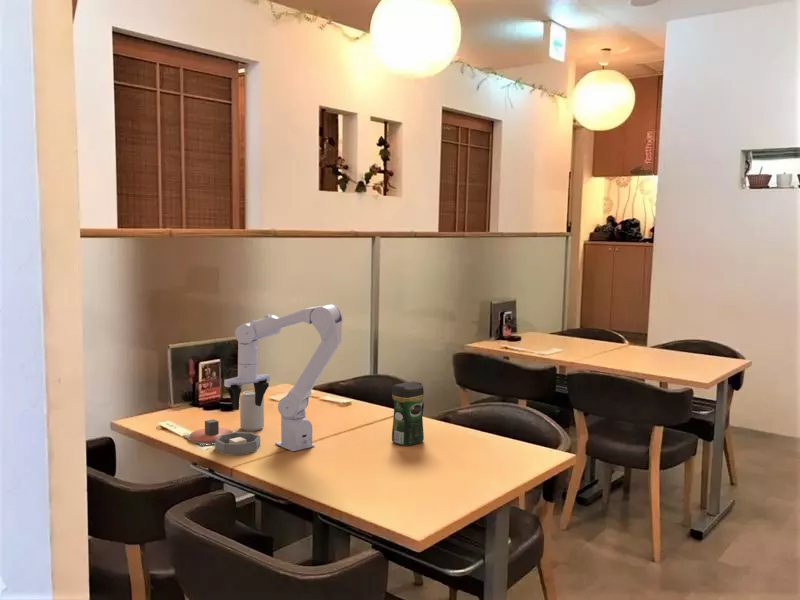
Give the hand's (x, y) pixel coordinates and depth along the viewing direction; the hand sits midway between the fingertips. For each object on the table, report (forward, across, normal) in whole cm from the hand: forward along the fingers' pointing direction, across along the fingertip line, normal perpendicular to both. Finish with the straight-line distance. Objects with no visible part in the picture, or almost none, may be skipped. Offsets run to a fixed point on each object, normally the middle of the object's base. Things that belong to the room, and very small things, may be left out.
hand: (247, 407), depth 210 cm
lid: (+10, +7, -9) cm, 15 cm away
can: (+11, -8, -10) cm, 17 cm away
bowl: (+10, +6, +4) cm, 13 cm away
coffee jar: (+10, -36, +32) cm, 50 cm away
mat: (+11, +7, -10) cm, 16 cm away
